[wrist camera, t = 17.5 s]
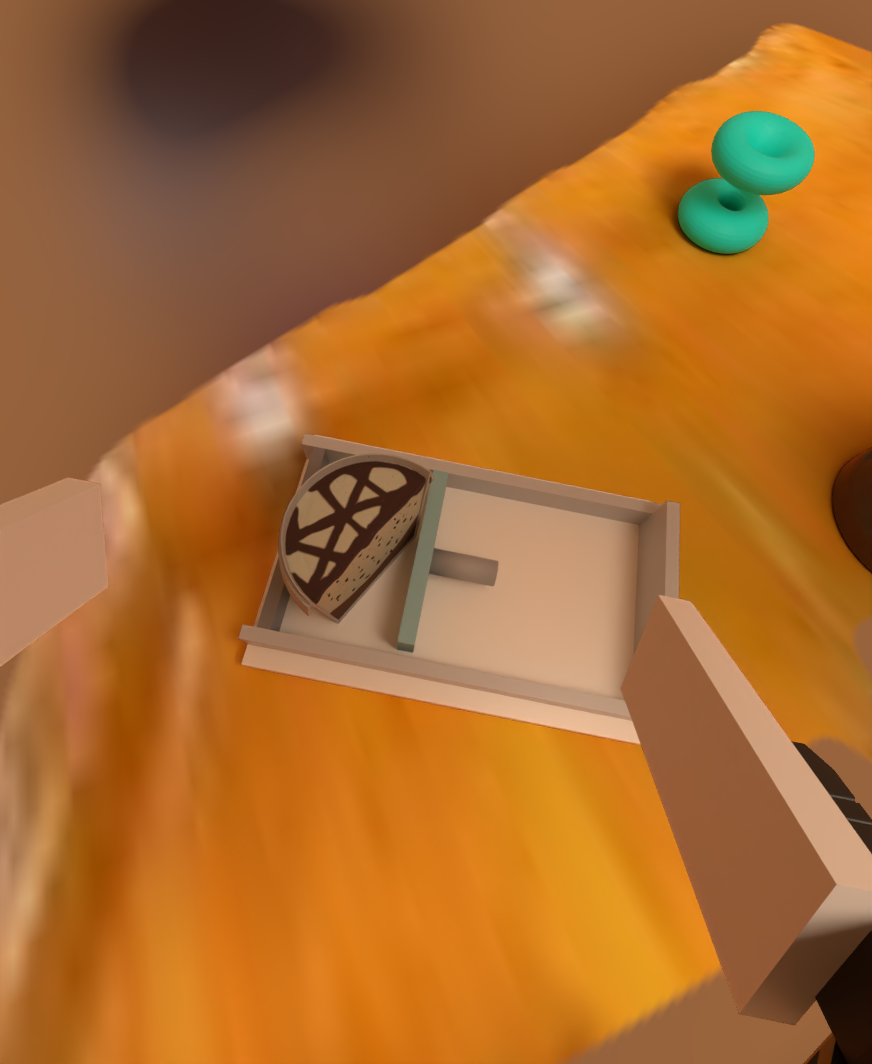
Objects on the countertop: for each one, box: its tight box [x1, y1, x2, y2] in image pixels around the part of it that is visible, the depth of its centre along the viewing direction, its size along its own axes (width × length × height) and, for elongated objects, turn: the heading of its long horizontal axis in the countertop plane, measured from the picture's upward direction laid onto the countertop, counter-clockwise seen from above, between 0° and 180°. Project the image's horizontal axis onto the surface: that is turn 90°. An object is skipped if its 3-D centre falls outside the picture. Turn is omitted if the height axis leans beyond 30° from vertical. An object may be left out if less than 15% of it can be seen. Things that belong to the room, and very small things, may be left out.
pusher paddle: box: [397, 470, 498, 653], centre depth 40 cm, size 6×14×4 cm, turn 170°
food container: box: [278, 453, 434, 624], centre depth 38 cm, size 12×6×10 cm, turn 141°
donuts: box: [678, 111, 815, 254], centre depth 57 cm, size 10×10×10 cm
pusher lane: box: [238, 434, 680, 745], centre depth 41 cm, size 30×20×6 cm, turn 79°
